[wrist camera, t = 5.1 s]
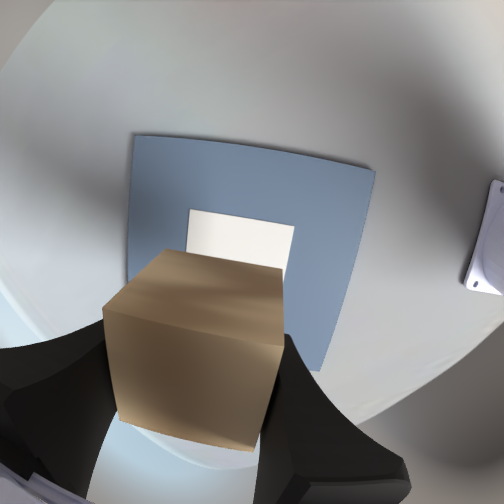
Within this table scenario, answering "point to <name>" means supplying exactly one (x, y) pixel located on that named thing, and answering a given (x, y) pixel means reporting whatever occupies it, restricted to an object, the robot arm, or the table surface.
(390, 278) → the table surface
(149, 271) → the oak block
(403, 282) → the table surface
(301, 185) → the board
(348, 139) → the table surface
